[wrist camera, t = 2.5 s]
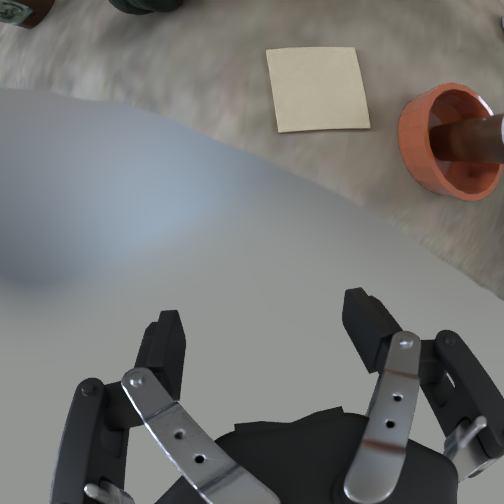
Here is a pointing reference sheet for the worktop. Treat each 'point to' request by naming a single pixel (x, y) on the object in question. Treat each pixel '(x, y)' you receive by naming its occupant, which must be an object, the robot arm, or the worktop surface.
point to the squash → (145, 6)
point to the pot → (419, 151)
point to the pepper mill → (470, 140)
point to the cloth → (317, 89)
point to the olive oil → (24, 12)
